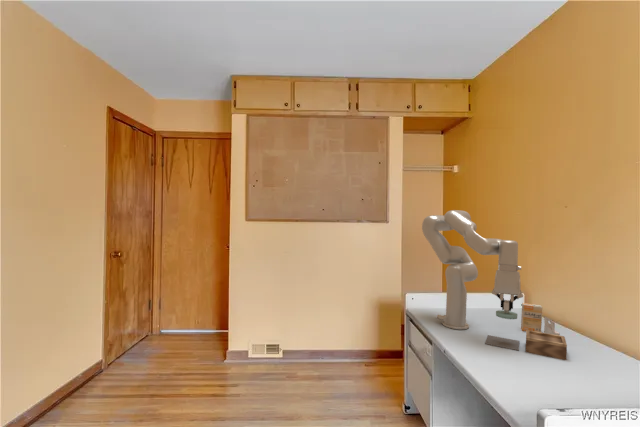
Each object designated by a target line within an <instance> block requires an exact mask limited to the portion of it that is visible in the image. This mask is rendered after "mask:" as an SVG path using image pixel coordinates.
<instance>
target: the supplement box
mask: <svg viewBox="0 0 640 427" xmlns="http://www.w3.org/2000/svg"><path fill="white" fill-rule="evenodd" d="M542 320H543V306H542V305H540V304H533V303H527V302H522V304H521V321H520V323H521V324H520V329H521V331H523V332H526V330H530V331H536V332H542V324H543V323H542Z"/></svg>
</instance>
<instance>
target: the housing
mask: <svg viewBox="0 0 640 427" xmlns="http://www.w3.org/2000/svg"><path fill="white" fill-rule="evenodd" d="M525 336H526V337H525V353H529V354H535V355H540V356H545V357H549V358H554V359H560V360H564V361H566V360H567V354H568V353H567V352H568V349H567V348H568V344H567V340H566V337H565V336H563V335H560V336H559V335H553V334H547V333H544V332H542V331H541V332H536V331H530V330H526V331H525Z"/></svg>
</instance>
